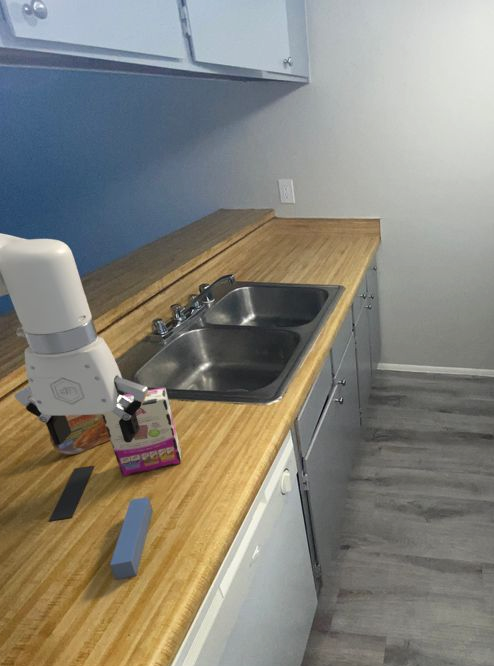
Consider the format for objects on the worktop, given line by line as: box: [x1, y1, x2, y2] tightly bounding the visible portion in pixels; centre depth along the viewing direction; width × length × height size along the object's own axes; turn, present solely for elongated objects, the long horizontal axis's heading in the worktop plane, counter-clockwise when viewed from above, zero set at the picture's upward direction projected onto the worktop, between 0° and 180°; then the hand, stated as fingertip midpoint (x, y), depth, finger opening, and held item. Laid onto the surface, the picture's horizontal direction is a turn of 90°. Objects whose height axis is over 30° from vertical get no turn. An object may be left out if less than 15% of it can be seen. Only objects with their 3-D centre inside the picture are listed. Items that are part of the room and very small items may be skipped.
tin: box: [49, 414, 111, 456], centre depth 102 cm, size 15×3×8 cm, turn 137°
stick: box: [109, 496, 153, 580], centre depth 81 cm, size 3×14×4 cm, turn 15°
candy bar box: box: [102, 386, 182, 477], centre depth 95 cm, size 11×5×16 cm, turn 114°
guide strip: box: [48, 465, 95, 522], centre depth 91 cm, size 4×14×1 cm, turn 15°
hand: (98, 437), depth 70 cm, fingers open, 9 cm apart
